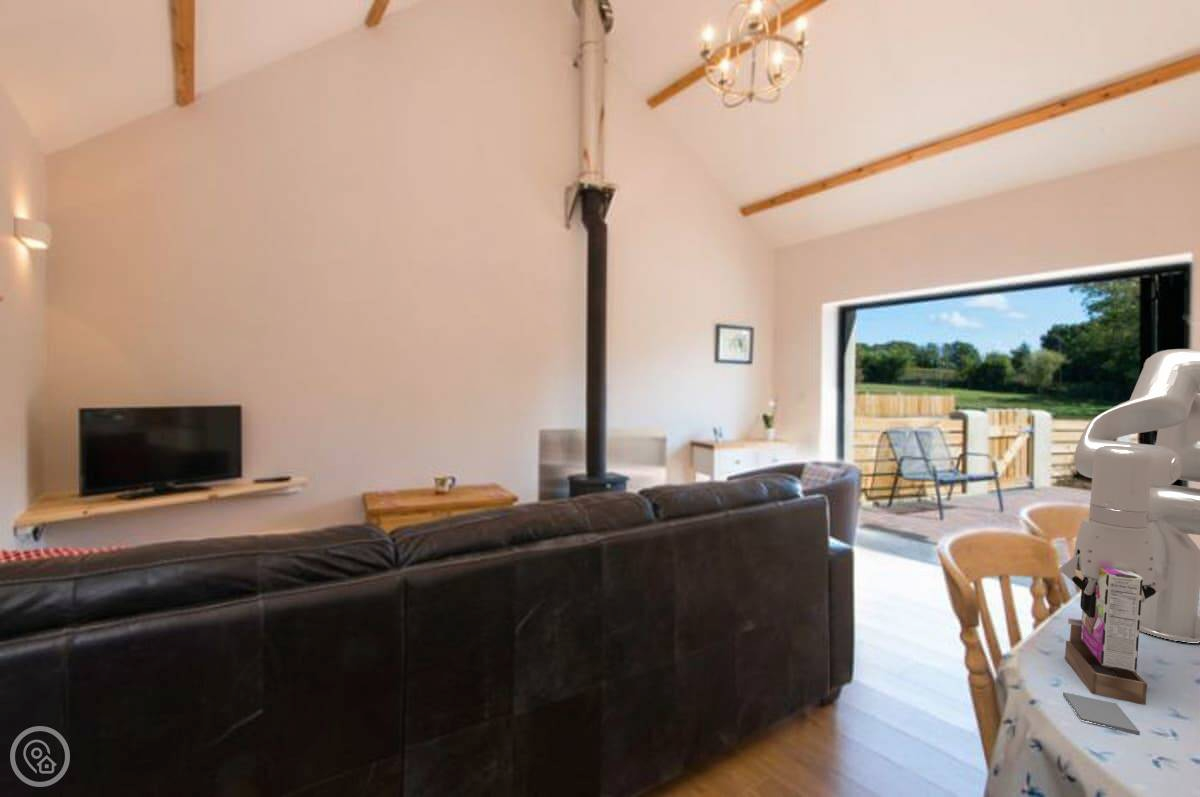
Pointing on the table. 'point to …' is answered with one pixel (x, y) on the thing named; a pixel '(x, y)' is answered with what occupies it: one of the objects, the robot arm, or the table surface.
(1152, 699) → the table surface
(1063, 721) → the table surface
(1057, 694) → the table surface
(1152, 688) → the table surface
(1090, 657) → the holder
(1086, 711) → the pad
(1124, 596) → the candy bar box
